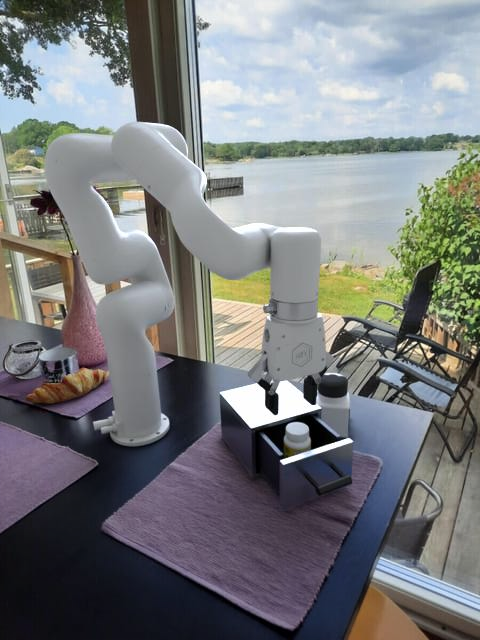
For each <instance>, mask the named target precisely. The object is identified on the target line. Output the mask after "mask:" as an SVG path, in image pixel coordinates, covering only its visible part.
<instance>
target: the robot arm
mask: <svg viewBox="0 0 480 640" xmlns="http://www.w3.org/2000/svg"><path fill="white" fill-rule="evenodd" d="M188 157H189V149H188V145H187V141H186V139H185V138H184V136H183V135H182V134H181V132H179V130H177V129H176V128H174V127H173V126H170V125H168V124H163V123H155V122H154V123H153V122H143V121H131V122H127V123H125V124H123V125H122V126H120V127H119V128H117V130H115V132H114V134H99V133H90V132H89V133H87V132H73V133H66V134H61V135H60V136H58V137H56V138H54V139H53V140H52V141H51V142H50V144H49V145H48V147H47V150H46V152H45V155H44V163H43V164H44V167H43V168H44V175H45V181H46V184H47V188H48V190H49V191H50V193H51V195H52V197H53V200H54V201H55V203H56V205H57V206H58V208H59V210H60V212H61V214H62V215H63V217H64V219H65V221H66V223H67V226H68V229H69V231H70V234H71V237H72V240H73V242H74V245H75V247H76V250H77V252H78V255H79V257H80V259H81V262H82V264H83V267H84V269H85V271H86V274H87V275H88V277H89V279H90V280H91V281H93V282H94V283H95V284H96V285H97V284H98V285H103V286H104V285H111V284H116V283H119V282H121V281H125V280H127V279H129V282H130V284H129V285H126V286H123V287H120V288H117V289H115V290H113V291H111V292H109V293H107V294H105V295H104V296H103V297H101V299H100V300H99V301H98V303H97V305H96V308H95V315H94V316H95V321H96V324H97V327H98V329H99V332H100V336H101V338H102V342H103V345H104V349H105V350H104V351H105V354H106V360H107V367H108V372H109V379H110V380H109V381H110V387H111V393H112V400H113V401H112V402H113V409H114V410H112V411H111V414H112V415H110V416H107V418H106V419H105V418H104V419H99V420H96V421H95V420H94V421H92V425H93V430H94V432H96V431H100V433H101V435H105V434H108V433H109V435H110V439H111V440H112V441H113V442H114V443H116V444H117V445H120V446H125V447H141V446H146V445H150V444H152V443H155V442H157V441H159V440H160V439H162V438H163V437H164V436H165V435H167V433H168V432H169V430H170V419H169V417H168V416H167V415H165V414H164V413H162V407H161V397H160V390H159V389H160V388H159V378H158V370H157V360H156V352H155V349H154V346H153V344H152V343H151V340H149V338H148V337H147V335H146V331H147V330H149V329H150V328H152V327H155V326H156V325H158V324H160V323H162V322H163V321H165V320H167V319H168V318H169V317H170V316H171V315H172V314H173V312H174V309H175V302H176V301H175V295H174V291H173V288H172V285H171V283H170V279H169V277H168V273H167V271H166V269H165V266H164V263H163V260H162V257H161V255H160V252H159V250H158V247H157V245H156V243H155V242H154V241H153V239H152V237H150V236H149V235H148V234H147V233H145V232H144V231H142V230H139V229H124V230H120V228H119V226H118V224H117V221H116V219H115V217H114V213H113V211H112V209H111V208H110V206H109V204H108V203H107V201H106V200H105V199H104V197H103V196H102V195H101V194H100V193H99V192H98V191H97V190H96V189H95V188H94V187H93V185H94V184H105V183H123V182H124V183H125V182H131V181H136V182H137V183H138V185H140V186H141V187H142V188H143V189H144V190H146V191H147V193H148V194H150V195H151V196H152V197H154V199H155V200H156V201H158V202H159V203H160V204H161V205H162V206H163V207H164V208H165V209H166V210H167V211H168V212H169V213H170V219H171V222H172V225H173V227H174V230H175V232H176V234H177V236H178V238H179V240H180V242H181V244H182V245H183V246H184V247H185V249H186V250H187V251H188V252H189V253H190V254H191V255H192V256H193V257H195V258H196V260H197V261H199V262H200V263H201V265H204V266H205V267H206V268H207V269H208V270H209V271H210V272H212V273H213V274H215V275H217V276H218V277H220V278H221V279H225V280H227V281H239V280H243V279H245V278H247V277H250V276H251V275H253V274H255V273H257V272H261V271H264V270H267V269H270V280H269V281H270V283H269V284H270V290H269V291H270V296H269V300H268V301H269V302H268V303H267V304H264V305H263V306H262V311H263V313H264V314H269V315H267V316H266V318H265V323H264V327H263V332H262V342H261V353H260V358H259V359H258V360H257V361H256V362H255V364H254V365H253V366H252V367H251V368H250V370H249V371H247V376H248V377H249V378H250V379H251V380H252V381H253V382H254V383H255V384H258V385H259V386H260V387H261V388H263V389H264V390H265V407H266V408H267V409H268V410H269V411H270V412H271V413H272V414H273V415H274V416H276V415H278V414H279V394H278V393H277V392H276V390H277V388H278V386H279V384H280V382H282V381H292V380H296V379H300V378H304V379H303V386H302V387H303V389H302V390H303V391H302V393H303V398H304V399H305V400H306V401H307V402H308V403H310V404H311V405H316V397H317V390H318V384H319V383H320V382H321V377H322V376H323V375H324V374H326V373H327V371H328V368H329V367H330V366H331V364H332V363H333V362H334V360H335V357H334V356H333V355H332V354H331V353H329V352H328V351H327V344H326V343H327V342H326V330H325V324H324V318H323V314H322V313H320V312H319V294H320V293H319V292H320V274H321V273H320V271H321V255H322V238H321V235H320V232H318V230H316V229H313V228H311V227H302V226H301V227H298V226H297V227H294V226H293V227H292V226H291V227H282V226H276V225H272V224H268V223H263V222H253V223H250V224H245V225H242V226H238V227H234V228H233V227H231V226H230V225H229V224H228V223H227V222H225V220H224V219H222V218H221V217H219V215H218V214H216V213H215V212H214V211H213V210H212V208H210V206H209V205H208V204H207V203H206V200H205V199H204V197H203V195H204V193H205V191H206V189H207V188H206V187H207V184H208V183H207V182H208V181H207V176H206V174H205V172H204V171H203V170H202V169H201V168H200V167H199V166H197V164H195V163H194V162H193V161H192V160H190V159H189V158H188ZM263 372H264V373H266V374H265V375H264V378H263V377H262V376H261V374H262V373H263ZM271 381H272V382H271ZM270 384H271V385H270Z"/></svg>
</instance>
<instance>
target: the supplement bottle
mask: <svg viewBox="0 0 480 640" xmlns="http://www.w3.org/2000/svg"><path fill="white" fill-rule="evenodd" d="M285 434H286V435H285V437H284V459H286V458H289V457H292V456H296V455H299V454H302V453H305V452H308V451H311V439H310V437H309V428H308V426H307V425H305V424H303V423H300V422H293V423H290V424H288V425H287V426H286V432H285Z"/></svg>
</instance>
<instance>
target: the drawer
mask: <svg viewBox="0 0 480 640" xmlns="http://www.w3.org/2000/svg"><path fill="white" fill-rule="evenodd" d="M293 422H300V423H303V424H305V425H307V426H308V428H309V437H310V439H311V451H308V452H305V453H302V454H299V455H296V456H292V457H289V458H286V459H284V437H285V435H286V434H285V432H286V426H287V425H288V424H290V423H293ZM341 439H342V437H341V436H340V435H339V434H338V433H336V432H335V431H334V430H333V429H332V428H330V427H329V426H328V425H327V424H326V423H324V422H323V421H322V420H321V419H320V418H318V417H317V416H316V415H315V414H312V415H309V416H306V417H302V418H299V419H295V420H292V421H288V422H285V423H281V424H278V425H274V426H271V427H267V428H264V429H260V430H257V431H255V446H256V468H257V470H258V471H259V472H260V474H261V475H262V476H261V477H263V479H264V480H265V482H266V483H267V484H268V485H269V487H270V488H271V489H272V490H273V492H274V493H275V494H276V496H277V497H278V498H279V507H280V508H281V510H282V511H284V512H285V511H287V510H289V509H291V508H294V507H296V506H299V505H303V504H305V503H307V502H310V501H313V500H315V499H318V498H321V497H324V496H327V495H329V494H331V493H334V492H337V491H340V490H342V489H345V488H347V487H350V486H352V484H353V479H352V475H353V459H354V458H353V456H354V440H352V439H351V437H348V438H345V439H342V440H341Z"/></svg>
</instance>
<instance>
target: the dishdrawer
mask: <svg viewBox="0 0 480 640" xmlns="http://www.w3.org/2000/svg"><path fill="white" fill-rule="evenodd" d="M271 382H272V381H271ZM270 385H271V384H270ZM276 392H277V393H278V394H279V414H278V415H276V416H274V415H273V414H272V413H271V412H270V411H269V410H268V409H267V408H266V407H265V390H264V389H263V388H261V387H260V386H259V385H258V384H257V383H253V384H249V385H245V386H240V387H237V388H232V389H229V390H228V389H227V390H224V391H220V392H219V409H220V411H219V412H220V429H221V430H220V432H221V438H222V440H223V441H224V443H225V444H226V445H227V447H228V448H229V449H230V451H231V452H232V454H233V455H234V456H235V457H236V459H237V460H238V461H239V463H240V464H241V467H243V468H244V469H245V471H246V473H247V474H248V476H249V477H250V478H251V479H252V480H253V479H256V478H259V477H263V476H262V475H261V474H260V472H259V471H258V470H257V468H256V446H255V431H257V430H260V429H264V428H267V427H271V426H274V425H278V424H281V423H285V422H288V421H292V420H295V419H299V418H302V417H306V416H309V415H312V414H315V415H316V416H317V417H318V418H320V419H321V415H322V408H321V407H320V406H318V405H317V404H316V405H311V404H310V403H308V402H307V401H306V400H305V399H304V398H303V391H301V390H299V389H298V388H297V387H296V386H295V385H293V384H292V383H291V382H289V380H287V381H282V382H280V384H279V386H278V388H277V390H276Z"/></svg>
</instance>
